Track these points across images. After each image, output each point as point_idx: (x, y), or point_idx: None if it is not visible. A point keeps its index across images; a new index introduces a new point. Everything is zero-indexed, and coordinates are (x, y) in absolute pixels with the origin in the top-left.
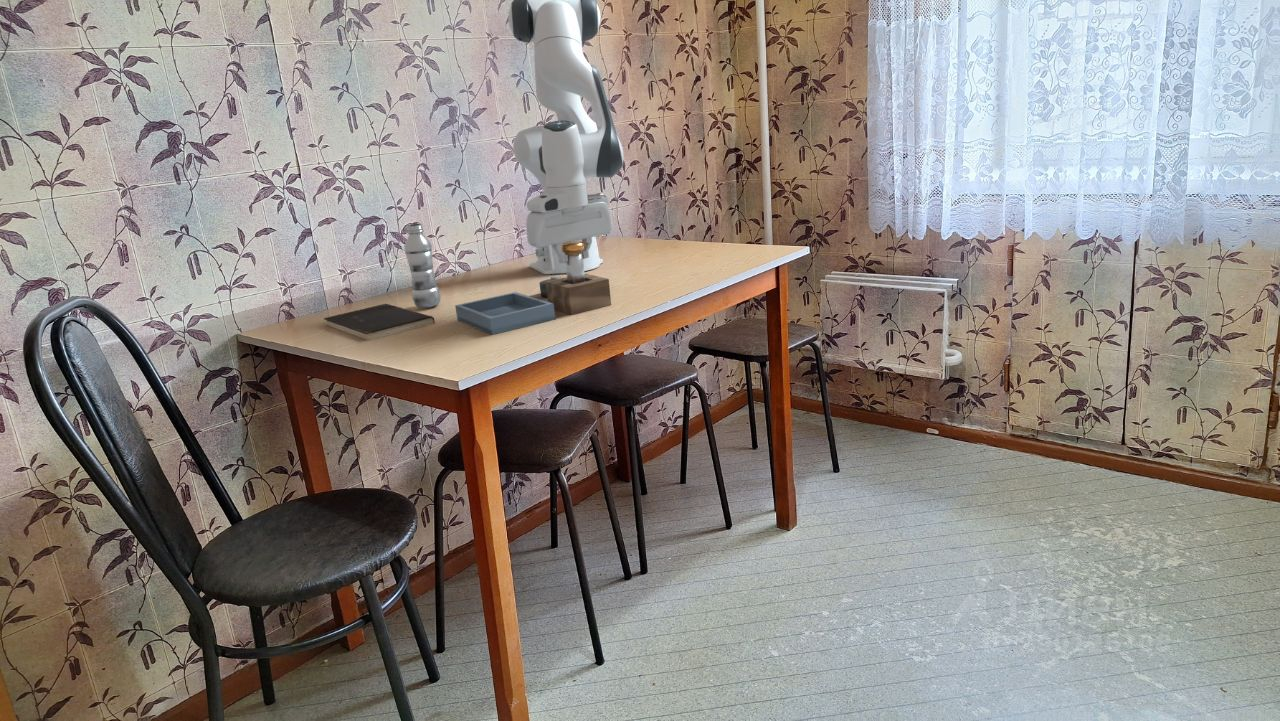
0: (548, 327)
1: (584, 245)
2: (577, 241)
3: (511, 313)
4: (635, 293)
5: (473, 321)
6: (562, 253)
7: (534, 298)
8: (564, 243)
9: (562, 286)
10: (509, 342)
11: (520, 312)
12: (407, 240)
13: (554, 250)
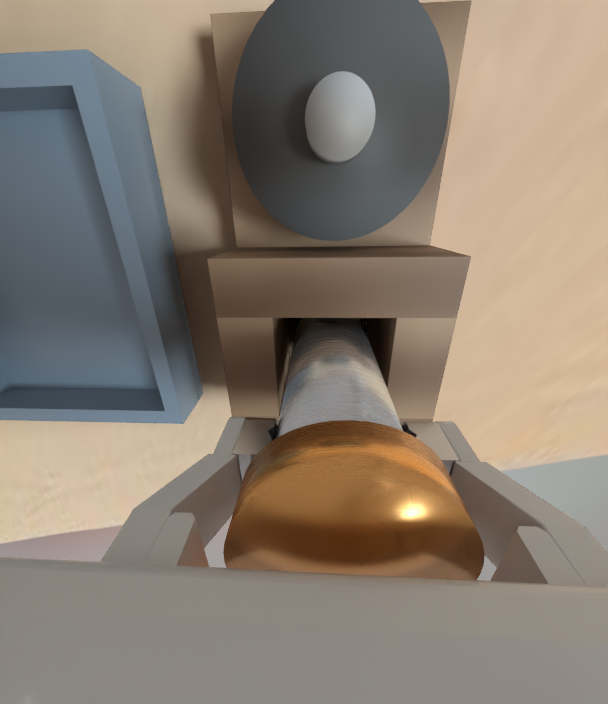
0: (163, 437)
1: (491, 511)
2: (456, 544)
3: (37, 420)
4: (560, 335)
5: None
6: (223, 515)
7: (147, 305)
8: (296, 513)
9: (231, 411)
10: (58, 463)
11: (70, 418)
12: None
13: (165, 488)
